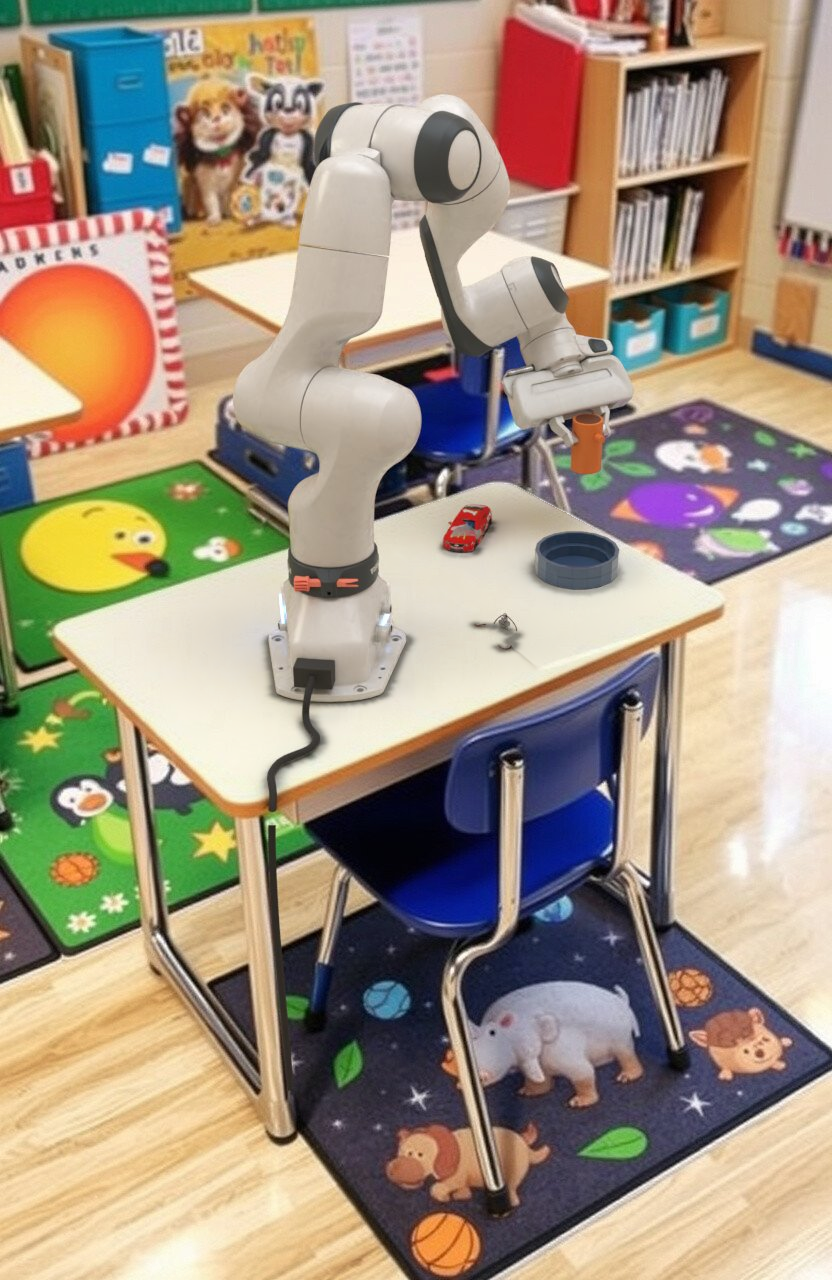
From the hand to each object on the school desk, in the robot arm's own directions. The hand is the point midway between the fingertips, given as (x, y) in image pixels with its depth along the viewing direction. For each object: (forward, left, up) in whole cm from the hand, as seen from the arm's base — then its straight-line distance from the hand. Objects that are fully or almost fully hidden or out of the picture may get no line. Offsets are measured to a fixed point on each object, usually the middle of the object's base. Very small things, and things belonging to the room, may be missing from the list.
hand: (589, 441), depth 210 cm
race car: (-1, +18, -16) cm, 24 cm away
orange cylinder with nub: (+1, 0, -5) cm, 5 cm away
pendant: (-31, +14, -16) cm, 37 cm away
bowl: (-13, +2, -16) cm, 20 cm away
